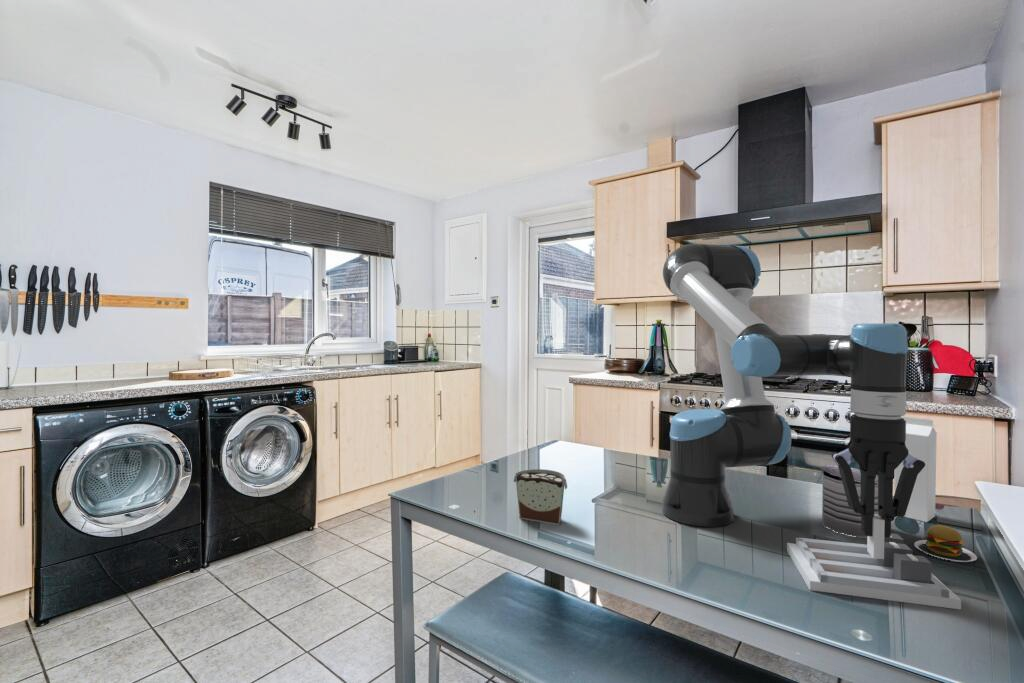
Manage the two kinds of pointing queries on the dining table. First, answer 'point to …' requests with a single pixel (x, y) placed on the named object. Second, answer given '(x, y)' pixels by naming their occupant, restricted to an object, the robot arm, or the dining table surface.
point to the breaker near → (912, 568)
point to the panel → (861, 574)
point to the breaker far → (894, 539)
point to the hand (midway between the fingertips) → (875, 554)
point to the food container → (540, 495)
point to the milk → (924, 449)
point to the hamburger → (945, 543)
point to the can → (842, 502)
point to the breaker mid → (892, 553)
